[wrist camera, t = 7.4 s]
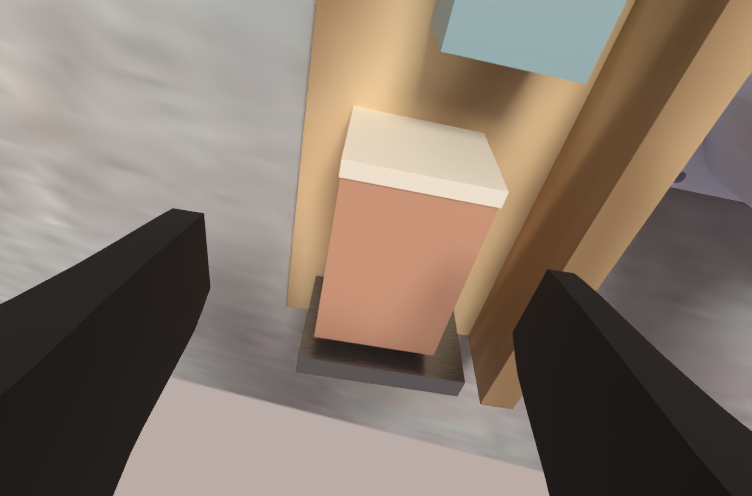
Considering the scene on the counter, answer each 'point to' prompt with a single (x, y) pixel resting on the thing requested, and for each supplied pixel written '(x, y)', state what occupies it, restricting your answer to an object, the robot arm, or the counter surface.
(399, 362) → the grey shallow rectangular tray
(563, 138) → the shelf
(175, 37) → the counter surface
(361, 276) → the boxed book
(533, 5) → the pale blue cube
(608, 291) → the counter surface
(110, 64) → the counter surface
